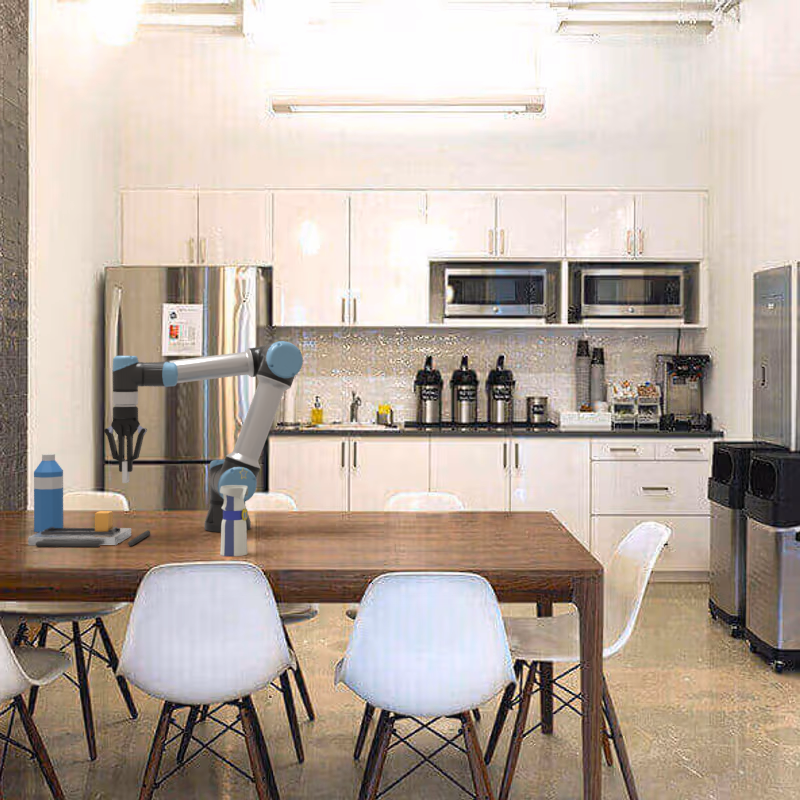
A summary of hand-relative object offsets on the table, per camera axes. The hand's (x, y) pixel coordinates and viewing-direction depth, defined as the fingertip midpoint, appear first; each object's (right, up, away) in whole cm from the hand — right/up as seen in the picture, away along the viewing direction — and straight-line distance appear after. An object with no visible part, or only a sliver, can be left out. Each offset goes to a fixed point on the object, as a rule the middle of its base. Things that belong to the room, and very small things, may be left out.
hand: (125, 482), depth 311 cm
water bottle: (-31, -18, +21) cm, 41 cm away
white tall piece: (+37, -19, -22) cm, 47 cm away
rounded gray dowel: (+4, -18, 0) cm, 18 cm away
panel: (-14, -18, 0) cm, 23 cm away
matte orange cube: (-7, -15, 0) cm, 17 cm away
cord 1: (-14, -18, -11) cm, 25 cm away
